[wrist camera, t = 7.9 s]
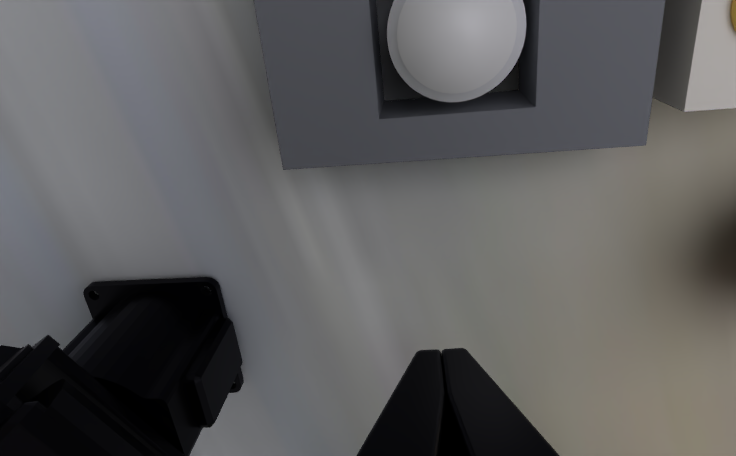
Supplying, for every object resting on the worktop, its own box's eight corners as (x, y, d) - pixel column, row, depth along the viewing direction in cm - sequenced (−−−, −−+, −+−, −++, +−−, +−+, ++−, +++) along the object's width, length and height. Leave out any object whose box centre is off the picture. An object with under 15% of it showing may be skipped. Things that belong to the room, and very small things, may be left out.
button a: (396, 87, 19) (392, 108, 16) (387, -32, 17) (381, -37, 14) (505, 78, 19) (525, 98, 15) (507, -46, 17) (530, -54, 14)
